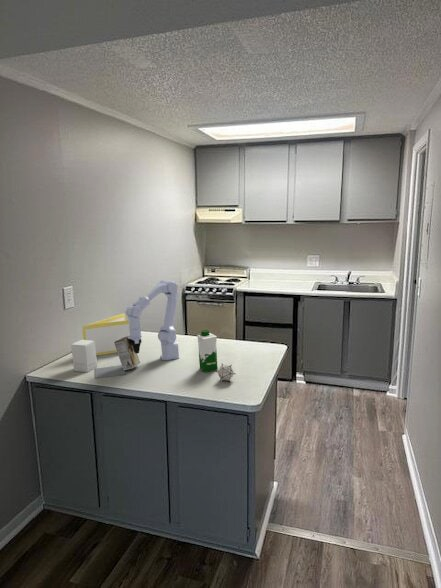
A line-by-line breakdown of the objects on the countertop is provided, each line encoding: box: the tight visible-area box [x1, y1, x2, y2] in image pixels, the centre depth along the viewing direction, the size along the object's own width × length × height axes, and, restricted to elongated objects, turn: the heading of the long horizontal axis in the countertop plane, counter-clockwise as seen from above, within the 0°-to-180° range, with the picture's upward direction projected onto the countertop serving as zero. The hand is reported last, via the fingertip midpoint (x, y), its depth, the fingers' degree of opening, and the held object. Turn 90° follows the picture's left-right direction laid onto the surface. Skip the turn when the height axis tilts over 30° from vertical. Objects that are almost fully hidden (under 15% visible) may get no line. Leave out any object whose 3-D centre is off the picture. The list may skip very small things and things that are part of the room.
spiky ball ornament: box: [215, 363, 236, 383], centre depth 200 cm, size 9×8×10 cm
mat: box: [94, 364, 126, 380], centre depth 219 cm, size 15×14×1 cm
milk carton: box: [197, 329, 219, 373], centre depth 215 cm, size 9×9×20 cm
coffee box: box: [114, 336, 141, 371], centre depth 221 cm, size 9×6×16 cm
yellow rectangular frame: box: [81, 312, 130, 356], centre depth 252 cm, size 35×22×20 cm, turn 150°
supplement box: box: [70, 339, 98, 373], centre depth 224 cm, size 9×9×15 cm
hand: (136, 352), depth 221 cm, fingers closed
